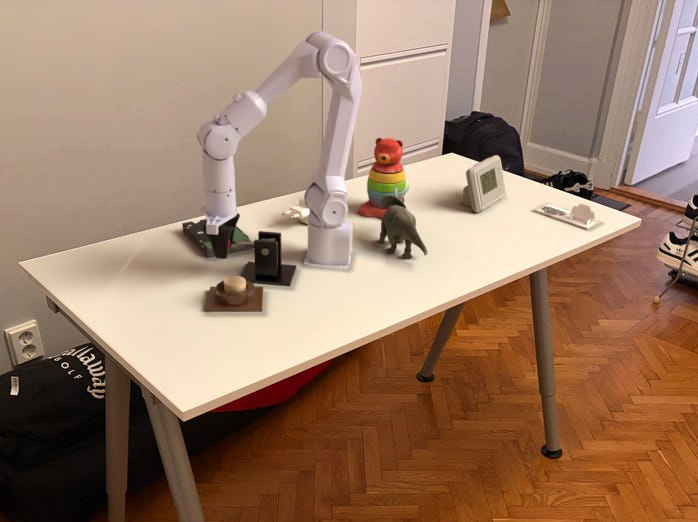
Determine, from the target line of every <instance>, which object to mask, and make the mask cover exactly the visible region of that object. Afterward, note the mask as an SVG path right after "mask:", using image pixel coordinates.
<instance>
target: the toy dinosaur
mask: <svg viewBox="0 0 698 522" xmlns="http://www.w3.org/2000/svg"><path fill="white" fill-rule="evenodd" d="M397 186H398V184H397V185H396V187H395V189H394V196H393V195H392V196H390V195H388V196H384V197H382V199H381V201H380V204H381V206H382V207H385V208H387V207H389V208H388V209H387V211H386V212H385V214H384V215H383V217H382V218H381V222H380V232H379V239H378V240H376V241H375V243H376V244H377V245H384V243H385V240H386V238H387V240H388V243H389V245H390V247H388V248H386V249H385V251H386V253H387V254H395V253H396V250H397V248H398V245H397V243H398V244H399V243H400V244H401V243H404V244H405V245H404V246H405V247H404V250H403V253H402V254H401V255H400V256H401V257H402V258H407V259H413V255H412V245H414V246H415V247H417V248H419V249H420V250H421V252H422V253H423V256H427V255H428V249H427V247H426V245H425V244H424V242H423V240H422V238H421V237H420V235H419V232H418V230H417V228H416V227H417V221H416V217H415V215H414V214H413V213H411V212H410V210H408V209H407V206H406V204H405V196H406V194H407V193H408V192H409V188H410V185H407V186H406V190H405V191H404V192H403V193H402V194H401V196H400V197H398V196H397Z"/></svg>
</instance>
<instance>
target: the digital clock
mask: <svg viewBox="0 0 698 522" xmlns="http://www.w3.org/2000/svg"><path fill="white" fill-rule="evenodd" d="M501 159H502V158H501V156H499V155H498V154H495V155H492V156H490V157H489V156H488V157H487V158H485V159H483V160H481V161H479V162H478V163H476V164H474V165H472V166H471V167H469V168H468V169H467V170H466V171H465V178H466V183H467V185H466V186H464V187H463V190H462V196H461V205H464V206H466V207H469V208H471V209H472V211H473V212H474V213H481V212H482V211H485V210H487V209H488V208H490V207H492V206H493V205H495V204H497V203H498V202H499V200H501V199H502V198H504V197H505V196H506V195H507V189H506V183H505V177H504V171H503V165H502V160H501Z"/></svg>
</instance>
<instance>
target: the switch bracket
mask: <svg viewBox="0 0 698 522" xmlns="http://www.w3.org/2000/svg"><path fill="white" fill-rule="evenodd" d="M257 235H258V239H254V241H253V242H254V249H253V251H254V254H253V255H254V261H247V263H246V265H245V267H244V268H243V271H242V273H241V276H240V277H243V278H245V280H248V281H250V282H251V283H252V284H257V285H267V286H268V285H269V286H283V287H291V285H292V282H293V279H294V277H295V275H296V272H297V265H296V264H295V265H294V264H285V263H282V262H283V260H282V255H283V254H282V232H276V231H265V230H259V231H258V233H257ZM261 238H276V241H268V240H261Z"/></svg>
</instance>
